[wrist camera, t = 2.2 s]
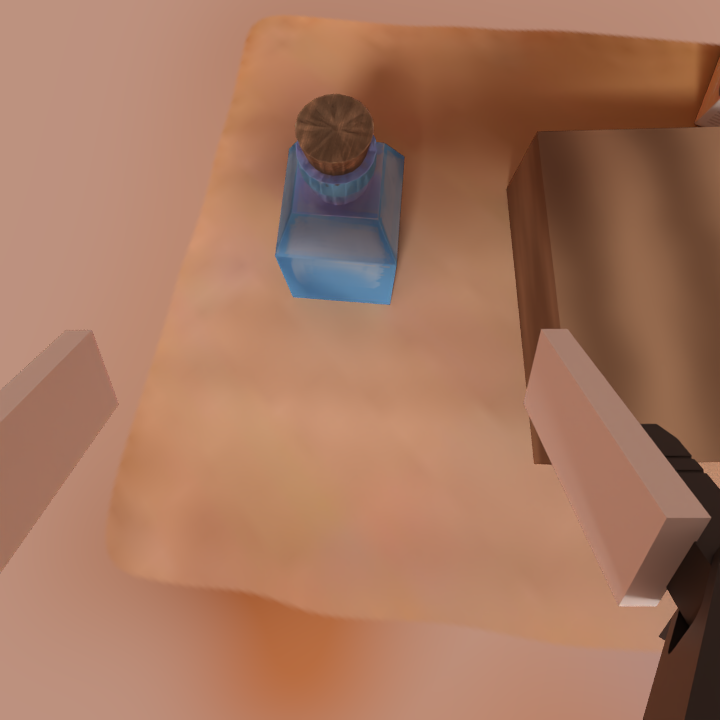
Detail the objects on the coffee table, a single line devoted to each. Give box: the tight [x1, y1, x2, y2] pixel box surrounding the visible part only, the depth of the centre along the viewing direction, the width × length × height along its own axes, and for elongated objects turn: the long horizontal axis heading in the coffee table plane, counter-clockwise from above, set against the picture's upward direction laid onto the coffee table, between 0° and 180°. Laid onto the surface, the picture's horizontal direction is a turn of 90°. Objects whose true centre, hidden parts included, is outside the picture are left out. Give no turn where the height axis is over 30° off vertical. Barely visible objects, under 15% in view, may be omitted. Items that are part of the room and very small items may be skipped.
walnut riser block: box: [507, 127, 720, 465], centre depth 27 cm, size 16×18×6 cm
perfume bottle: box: [275, 94, 404, 305], centre depth 24 cm, size 6×6×12 cm
